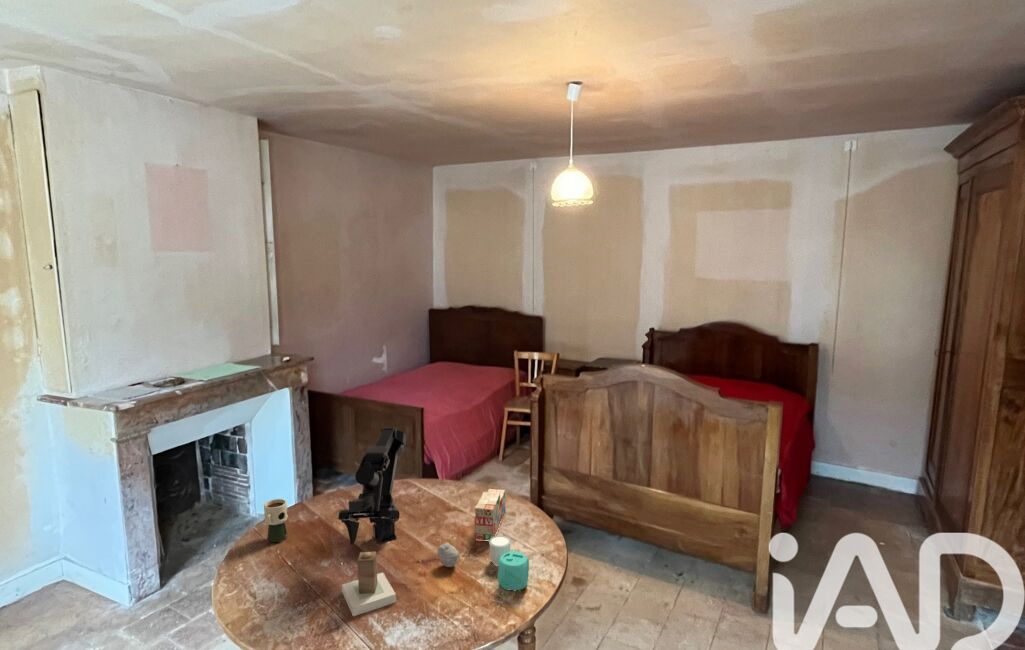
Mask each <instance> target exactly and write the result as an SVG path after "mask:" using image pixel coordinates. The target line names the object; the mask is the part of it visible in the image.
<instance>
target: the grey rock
mask: <svg viewBox="0 0 1025 650" xmlns="http://www.w3.org/2000/svg"><path fill="white" fill-rule="evenodd" d="M437 556H438V558H439V560H440V561H441V563H442V565H443V566H444V567H446V568H452V567H454V566H455V565H456V563H457V562H458V558H460V557H459V556H460V553H459V551H458V549H456V547H455V546H453V545H452V544H451V543H449V542H445V543H443V544H441V545H439V546H438V548H437Z"/></svg>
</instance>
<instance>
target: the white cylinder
mask: <svg viewBox="0 0 1025 650" xmlns="http://www.w3.org/2000/svg"><path fill="white" fill-rule="evenodd" d="M511 541H512V540H511V538H510V537H508V536H505V535H496V536H495V537H492V538H491V539H490V540H489V542H488V544H489V551H490V552H489V553H490V562H491V561H492V563H494V564H497V565H499V561H500V557H501V556H502V555H503V554H504V553H507V552H511V545H512V543H511ZM492 563H491V564H492Z"/></svg>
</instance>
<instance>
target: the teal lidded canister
mask: <svg viewBox="0 0 1025 650" xmlns="http://www.w3.org/2000/svg"><path fill="white" fill-rule="evenodd" d="M529 571H530V561H529V558H528V556H527V555H525V554H524V553H523V552H520V551H517V550H515V551H513V550H510V552H507V553H504V554H503V555H502V556H501V557H500V561H499V567H498V566H497V581H498V583H497V584H498V585H499V586H501V588H502V589H504V590H506V589H510V590H519V591H521V590H520V589H522V590H523V589H525V588H526V587H527V586H526V585H528V582H527V581H529Z"/></svg>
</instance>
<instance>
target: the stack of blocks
mask: <svg viewBox="0 0 1025 650" xmlns="http://www.w3.org/2000/svg"><path fill="white" fill-rule="evenodd" d="M474 508H475V509H474V513H475V517H474V519H475V520H474V522H475V534H474V535H475V539H479V540H490V539H491V538H492V537H495V534H496V532H497V530H498V528H499V529H500V527H499V524H500V521H501V519H502V518H503V516H504V517H505V515H504V513H505V514H506V490H505V489H492V488H488V490H487V491H483V492H482V494H481V497H480V499H479V500H478V502H477V503H476V505H475V507H474ZM503 519H504V518H503ZM500 525H501V524H500ZM498 531H499V530H498Z"/></svg>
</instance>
